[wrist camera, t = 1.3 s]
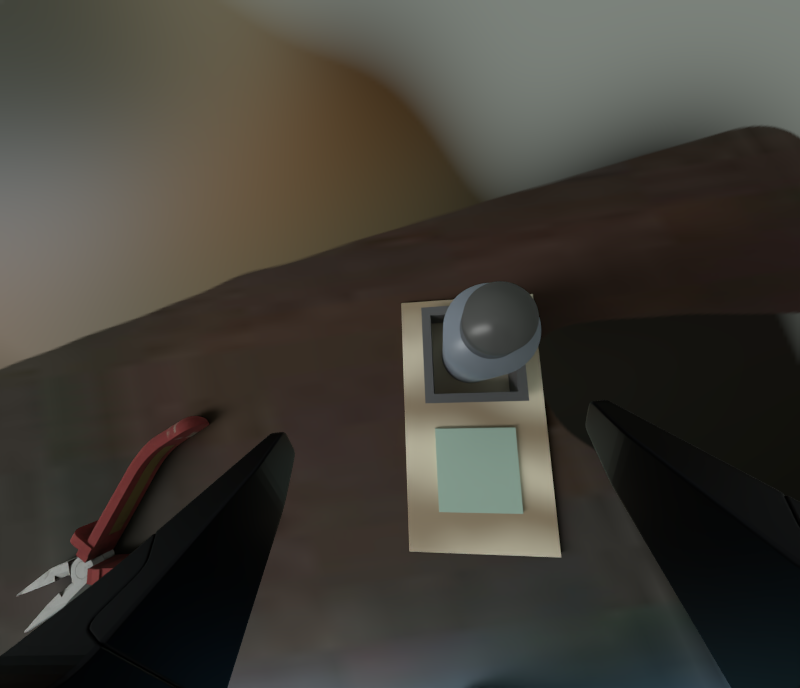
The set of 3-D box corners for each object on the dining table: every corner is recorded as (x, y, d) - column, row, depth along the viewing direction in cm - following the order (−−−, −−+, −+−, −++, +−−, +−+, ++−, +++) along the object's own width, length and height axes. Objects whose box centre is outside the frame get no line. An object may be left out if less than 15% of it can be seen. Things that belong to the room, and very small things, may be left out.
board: (559, 554, 20) (561, 557, 19) (409, 548, 21) (409, 551, 21) (531, 295, 23) (532, 294, 22) (401, 304, 24) (401, 303, 24)
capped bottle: (499, 382, 22) (567, 370, 10) (443, 384, 22) (446, 375, 10) (494, 328, 22) (553, 258, 11) (440, 331, 23) (440, 267, 11)
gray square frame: (519, 399, 21) (529, 400, 19) (427, 402, 22) (425, 403, 20) (510, 310, 22) (519, 300, 20) (423, 316, 23) (421, 307, 21)
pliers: (23, 537, 26) (-23, 553, 23) (209, 408, 25) (183, 410, 23) (65, 672, 24) (20, 706, 21) (271, 532, 23) (250, 550, 21)
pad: (522, 512, 20) (523, 513, 20) (439, 510, 21) (439, 512, 21) (514, 427, 21) (515, 427, 21) (435, 428, 22) (435, 428, 21)
